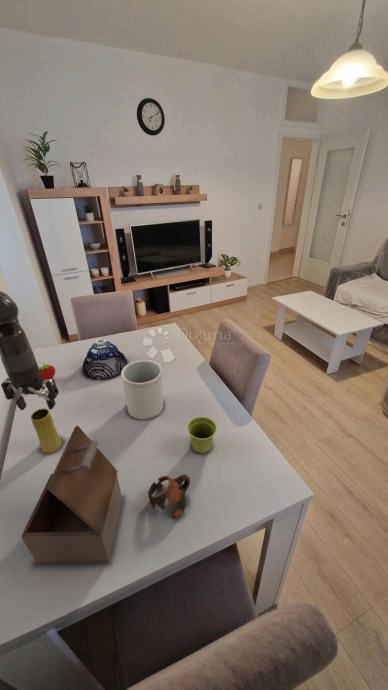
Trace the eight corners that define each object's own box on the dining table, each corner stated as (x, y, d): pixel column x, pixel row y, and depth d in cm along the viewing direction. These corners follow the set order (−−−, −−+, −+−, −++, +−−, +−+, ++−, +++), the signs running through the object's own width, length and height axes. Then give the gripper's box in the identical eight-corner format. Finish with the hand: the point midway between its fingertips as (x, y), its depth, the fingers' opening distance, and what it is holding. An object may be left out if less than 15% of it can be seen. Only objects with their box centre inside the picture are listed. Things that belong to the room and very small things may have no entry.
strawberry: (38, 382, 122) (31, 363, 117) (55, 375, 126) (50, 357, 121) (42, 388, 118) (35, 369, 113) (60, 381, 122) (54, 362, 117)
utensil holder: (172, 403, 110) (170, 367, 101) (147, 427, 99) (142, 388, 90) (144, 390, 117) (140, 355, 108) (118, 411, 106) (111, 374, 97)
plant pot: (221, 450, 90) (222, 431, 86) (196, 462, 86) (196, 443, 82) (206, 431, 98) (206, 413, 93) (182, 441, 93) (182, 423, 89)
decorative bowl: (92, 355, 141) (86, 330, 134) (131, 356, 140) (127, 331, 133) (76, 379, 124) (69, 351, 116) (120, 380, 123) (116, 352, 116)
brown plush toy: (170, 530, 70) (153, 508, 68) (155, 512, 78) (139, 492, 76) (203, 492, 75) (188, 471, 73) (185, 479, 83) (171, 459, 81)
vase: (37, 452, 90) (24, 420, 83) (49, 437, 95) (37, 406, 88) (54, 454, 89) (42, 422, 82) (65, 439, 94) (55, 408, 87)
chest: (36, 563, 63) (20, 536, 57) (62, 500, 76) (51, 473, 70) (109, 561, 64) (100, 535, 58) (122, 499, 76) (116, 472, 70)
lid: (46, 488, 49) (72, 480, 48) (75, 426, 62) (96, 419, 61) (98, 534, 58) (122, 528, 57) (114, 471, 70) (134, 466, 69)
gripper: (52, 355, 79) (66, 399, 87) (2, 356, 79) (20, 399, 87) (40, 371, 72) (56, 416, 80) (-15, 372, 72) (7, 417, 80)
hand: (37, 407), depth 84 cm, fingers open, 8 cm apart
